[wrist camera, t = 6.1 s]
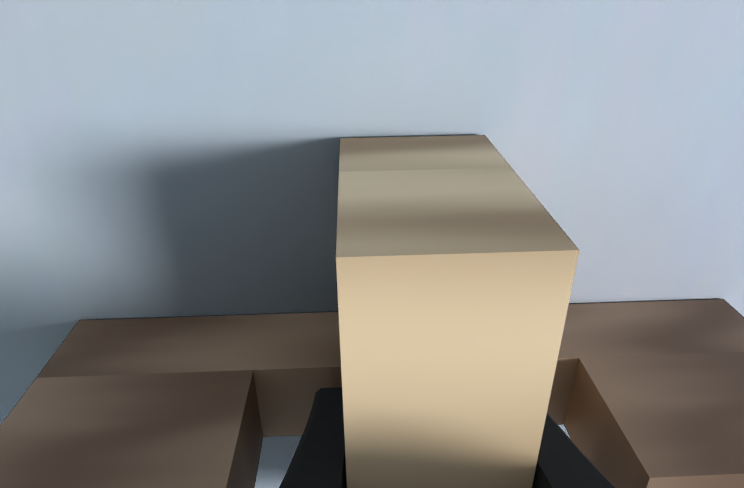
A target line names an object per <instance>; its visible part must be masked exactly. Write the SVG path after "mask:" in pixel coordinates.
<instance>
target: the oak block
mask: <svg viewBox="0 0 744 488" xmlns="http://www.w3.org/2000/svg"><path fill="white" fill-rule="evenodd" d="M578 255H579V249H578V248H577V247H576V245H575V244H574V243H573V242H572V241H571V239H570V238H569V237H568V236H567V234H566V233H565V232H564V231H563V230H562V228H561V227H560V226H559V225H558V223H557V222H556V221H555V220H554V219H553V217H552V216H551V215H550V214H549V213H548V211H547V210H546V209H545V208H544V206H543V205H542V204H541V203H540V202H539V200H538V199H537V198H536V197H535V195H534V194H533V193H532V192H531V191H530V189H529V188H528V187H527V186H526V185H525V183H524V182H523V181H522V180H521V178H520V177H519V176H518V175H517V174H516V172H515V171H514V170H513V169H512V167H511V166H510V165H509V164H508V163H507V161H506V160H505V159H504V158H503V157H502V155H501V154H500V153H499V152H498V150H497V149H496V148H495V147H494V146H493V144H492V143H491V142H490V141H489V139H488V138H487V137H486V136H485V135H461V136H416V137H370V138H340V156H339V184H338V212H337V240H336V270H337V291H338V312H339V332H340V353H341V374H342V395H343V415H344V436H345V457H346V478H347V488H532V484H533V479H534V474H535V469H536V464H537V459H538V454H539V449H540V444H541V439H542V434H543V429H544V424H545V419H546V414H547V409H548V404H549V399H550V394H551V389H552V384H553V379H554V374H555V369H556V364H557V359H558V355H559V350H560V345H561V340H562V335H563V330H564V325H565V320H566V315H567V310H568V305H569V300H570V295H571V290H572V285H573V280H574V275H575V270H576V265H577V260H578Z"/></svg>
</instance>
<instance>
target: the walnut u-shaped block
mask: <svg viewBox="0 0 744 488" xmlns="http://www.w3.org/2000/svg"><path fill="white" fill-rule="evenodd" d="M336 387H342V374H341V353H340V332H339V312H318V313H288V314H258V315H228V316H198V317H168V318H138V319H108V320H79V321H78V323H77V324H76V325H75V327H74V328H73V329H72V331H71V332H70V333H69V335H68V336H67V337H66V339H65V340H64V341H63V343H62V344H61V345H60V347H59V348H58V349H57V351H56V352H55V353H54V355H53V356H52V357H51V359H50V360H49V361H48V363H47V364H46V365H45V367H44V368H43V369H42V371H41V372H40V373H39V375H38V376H37V377H36V379H35V380H34V381H33V383H32V384H31V385H30V387H29V388H28V389H27V391H26V392H25V393H24V395H23V396H22V397H21V399H20V400H19V401H18V403H17V404H16V405H15V407H14V408H13V409H12V411H11V412H10V413H9V415H8V416H7V417H6V419H5V420H4V421H3V423H2V424H1V425H0V488H254V487H255V481H256V475H257V469H258V464H259V458H260V452H261V447H262V441H263V437H271V436H295V435H303V432H304V430H305V427H306V424H307V421H308V418H309V415H310V412H311V409H312V405H313V402H314V397H315V393H316V392H317V391H318V390H319V389H320V388H336ZM547 413H548V414H549V415H550V416H551V417H552V419H553V420H554V421H555V422H556V423H557V424H558V425H562V424H564V426H565V428H566V430H567V432H568V434H569V436H570V438H571V441H572V442H573V443H574V444H575V445H576V446H577V447H578V448H579V449H580V450H581V452H582V453H583V454H584V455H585V456H586V457H587V458H588V459H589V460H590V461H591V462H592V463H593V465H594V466H595V467H596V468H597V469H598V470H599V471H600V472H601V473H602V474H603V475H604V476H605V477H606V478H607V479H608V480H609V481H610V482H611V483H612V484H613V485H614V486H615V487H616V488H744V317H743V316H742V315H741V314H740V313H739V312H738V311H736V310H735V309H734V308H733V307H732V306H731V305H730V304H729V303H727V302H726V301H725V300H724V299H708V300H678V301H648V302H618V303H588V304H569V305H568V310H567V315H566V320H565V325H564V330H563V335H562V340H561V345H560V350H559V355H558V359H557V364H556V369H555V374H554V379H553V384H552V389H551V394H550V399H549V404H548V409H547Z"/></svg>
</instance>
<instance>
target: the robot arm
mask: <svg viewBox="0 0 744 488" xmlns="http://www.w3.org/2000/svg"><path fill="white" fill-rule="evenodd" d="M279 488H347V478H346V457H345V436H344V415H343V395H342V387H336V388H320V389H319V390H318V391H317V392H316V393H315V397H314V402H313V405H312V409H311V412H310V415H309V418H308V421H307V424H306V427H305V430H304V432H303V435H302V437H301V440H300V443H299V445H298V447H297V450H296V452H295V454H294V456H293V459H292V461H291V463H290V466H289V468H288V470H287V472H286V475H285V477H284V479H283V481H282V483H281V485H280V487H279ZM532 488H616V487H615V486H614V485H613V484H612V483H611V482H610V481H609V480H608V479H607V478H606V477H605V476H604V475H603V474H602V473H601V472H600V471H599V470H598V469H597V468H596V467H595V466H594V465H593V463H592V462H591V461H590V460H589V459H588V458H587V457H586V456H585V455H584V454H583V453H582V452H581V450H580V449H579V448H578V447H577V446H576V445H575V444H574V443H573V442H572V441H571V439H570V438H569V437H568V436H567V435H566V434H565V433H564V431H563V430H562V429H561V428H560V427H559V426H558V424H557V423H556V422H555V421H554V420H553V419H552V417H551V416H550V415H549V414H548V413H547V414H546V419H545V424H544V429H543V434H542V439H541V444H540V449H539V454H538V459H537V464H536V469H535V474H534V479H533V484H532Z"/></svg>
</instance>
